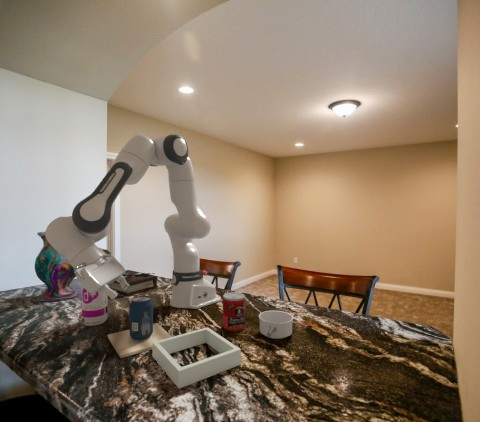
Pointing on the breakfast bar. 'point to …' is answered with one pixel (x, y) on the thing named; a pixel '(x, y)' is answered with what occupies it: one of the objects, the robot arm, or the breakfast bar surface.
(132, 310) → the soda can
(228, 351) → the rectangular frame
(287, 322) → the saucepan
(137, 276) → the decorative book
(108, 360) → the breakfast bar surface
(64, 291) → the vase
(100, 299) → the supplement can
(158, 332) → the board
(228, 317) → the canned food
